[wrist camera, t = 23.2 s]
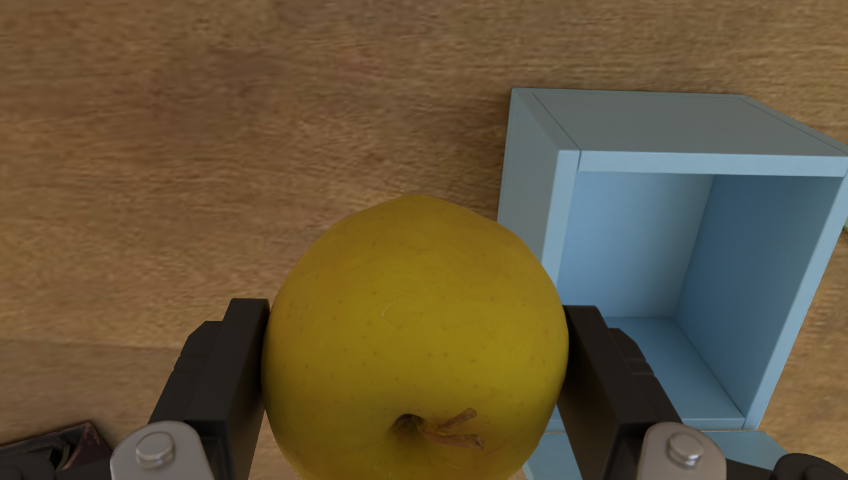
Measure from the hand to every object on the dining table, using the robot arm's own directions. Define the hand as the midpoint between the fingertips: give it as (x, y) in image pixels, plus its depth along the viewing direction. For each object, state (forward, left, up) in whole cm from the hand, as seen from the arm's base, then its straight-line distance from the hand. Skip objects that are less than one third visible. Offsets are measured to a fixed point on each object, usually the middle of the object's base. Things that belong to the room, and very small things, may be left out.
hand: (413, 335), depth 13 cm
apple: (0, 0, -4) cm, 4 cm away
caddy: (+12, +2, -17) cm, 21 cm away
